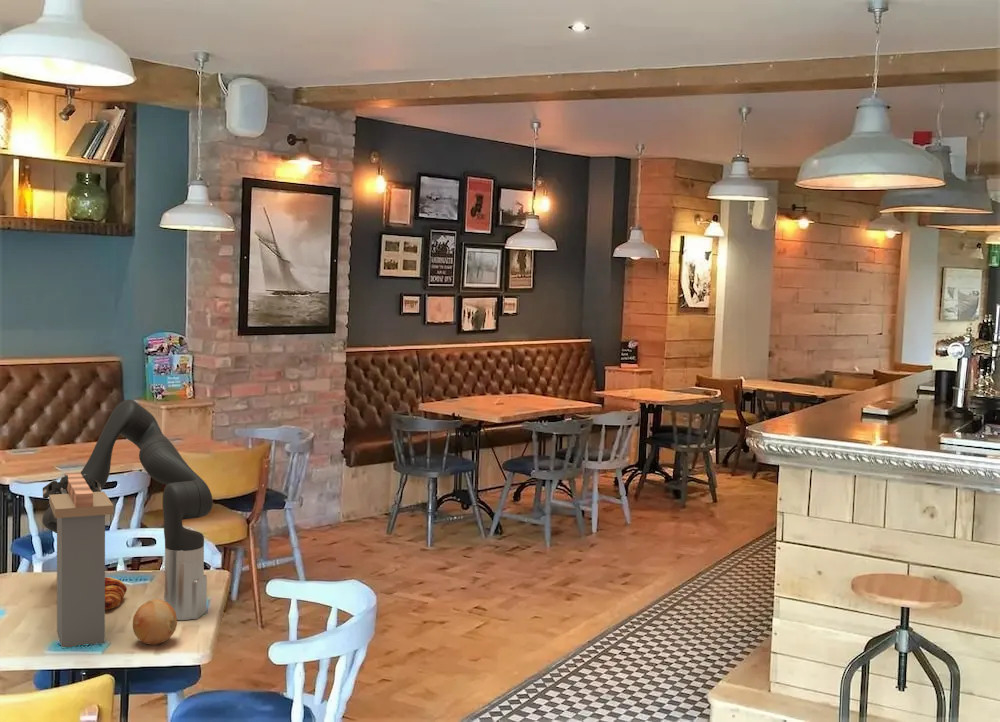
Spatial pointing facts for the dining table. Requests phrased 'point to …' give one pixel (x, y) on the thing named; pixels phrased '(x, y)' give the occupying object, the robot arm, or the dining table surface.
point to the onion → (154, 622)
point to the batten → (79, 490)
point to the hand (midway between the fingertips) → (75, 478)
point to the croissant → (113, 592)
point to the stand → (80, 569)
